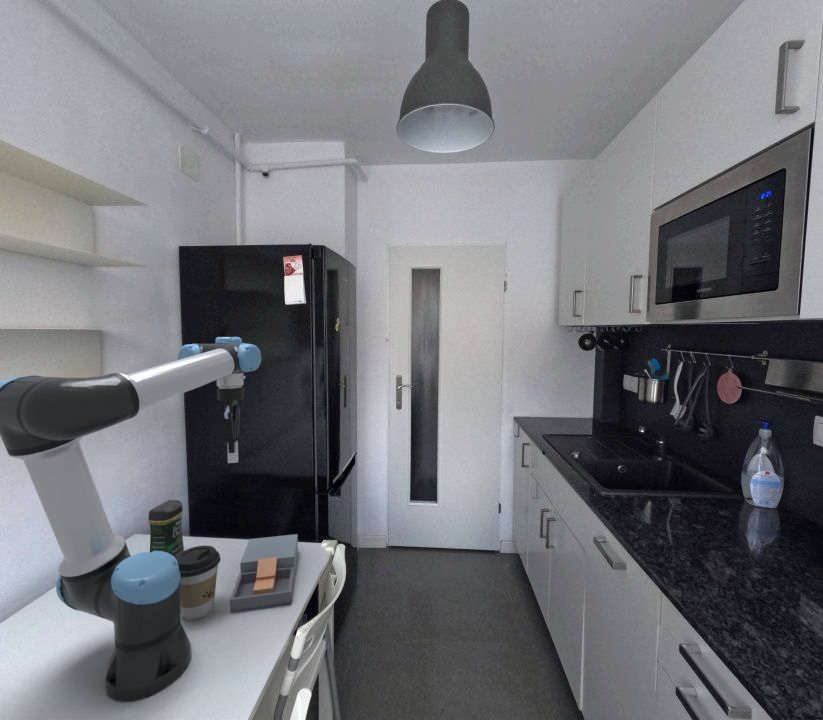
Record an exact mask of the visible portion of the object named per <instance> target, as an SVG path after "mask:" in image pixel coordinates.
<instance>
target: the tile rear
mask: <svg viewBox="0 0 823 720" xmlns="http://www.w3.org/2000/svg"><path fill="white" fill-rule="evenodd" d="M276 572H277V557H274V558H266V559H258V567H257V576H256V578H257V579H263V578H272V577H275V579H276Z"/></svg>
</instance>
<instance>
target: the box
mask: <svg viewBox="0 0 823 720" xmlns="http://www.w3.org/2000/svg"><path fill="white" fill-rule="evenodd" d="M256 576H257V571H255V572H246V573H241V572H240V573H239V575H238V577H237V581H236V582H235V585H234V589H232V593H231V596H230V598H229V613H230V614H235V613H241V612H242V613H243V612H249V611H256V610H263V609H271V608H275V607H276V608H277V607H284V606H289V605H290V606H291V605H292V600H293V598H292V597H293V591H294V583H295V576H294V567H287V568H279V569H277V572H276V579H275V589H274V592H272V593H265V594H258V595H253V589H254V585H255V582H256V579H257V578H256Z"/></svg>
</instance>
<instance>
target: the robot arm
mask: <svg viewBox="0 0 823 720" xmlns="http://www.w3.org/2000/svg"><path fill="white" fill-rule="evenodd" d="M261 362H262V354H261V350H260V348H259V347H258V346H256V345H255V344H251V343H244V342H243V339H242V338H241V337H239V336H217V337H216V338H215V343H192V344H191V343H189V344H184V345H182V346H181V347H180V348H179V350H178V352H177V359H176V360H173V361H170V362H166V363H163V364H160V365H155V366H152V367H149V368H145V369H142V370H138V371H134V372H131V373H128V374H125V373H121V372H112V373H109V374H105V375H99V376H91V377H56V376H55V377H54V376H41V375H36V374H34V375H25V376H16V377H15V376H14V377H11V378H7V379H5V380H3V381H0V438H1V440H2V444H3V445H4V447H5V450H6V452H7V455H8V456H9V457H10V458H14V459H15V458H16V459H19V460H22V461H23V463H24V465H25V468H26V470H27V472H28V475H29V477H30V480H31V482H32V484H33V486H34V489H35V491H36V493H37V496H38V499H39V501H40V503H41V506H42V508H43V511H44V513H45V516H46V517H47V520H48V522H49V525H50V527H51V530H52V532H53V534H54V537H55V539H56V542H57V543H58V547H59V549H60V551H61V553H62V556H63V559H62V560H61V562H60V564H59V565H58V573H59V577H58V578H57V579H56V583H55V589H56V594H57V596H58V599H59V600H60V601H61V602H62V603H63V604H64V605H65V606H67V607H68V608H70V609H72V610H75V611H78V612H82V613H86V614H89V615H92V616H94V617H97V618H100V619H104V620H107V621H110V622H112V623H113V630H114V648H113V652H112V655H111V658H110V660H109V662H108V663H109V664H108V666H107V669H106V672H105V678H104V679H105V680H104V681H105V693H106V695H107V696H108V697H109V698H111V699H112V700H114V701H119V702H131V701H137V700H141V699H144V698H147V697H149V696H152V695H154V694H156V693H158V692H160V691H161V690H163V689H166V688H167V687H168V686H169V685H171V684H172V683H173V682H175V681H176V680H177V679H178V678H179V677H180V676H181V675H182V674H183V673H184V672H185V670H186V669H187V667H188V666H189V664H190V661H191V659H192V658H191V657H192V646H191V641H190V639H189V637H188V634H187V633H186V631H185V628H184V626H183V625H182V622H181V621H182V619H181V618H182V614H181V611H180V572H179V567H178V562H177V560H176V558H175V557H174V556H173V555H171V554H169V553H167V552H163V551H153V552H151V553H150V551H144V552H139V553H135V554H133V555H131V553H130V551H129V549H128V546H127V543H126V541H125V538H124V537H123V536H121V535H118V534H114V533H113V530H112V528H111V525H110V522H109V519H108V516H107V514H106V510H105V509H104V505H103V503H102V500H101V498H100V495H99V491H98V489H97V486H96V484H95V481H94V478H93V475H92V473H91V470H90V468H89V464H88V461H87V459H86V456H85V454H84V450H83V448H82V446H81V444H80V441H81V440H82V439H83V437H85V436H87V435H92V434H93V433H94V434H95V433H96V432H101V431H102V430H105V429H107V428H110V427H113V426H115V425H119V424H120V423H123V422H126V421H128V420H130V419H133V418H135V417H136V416H138V414H139V413H140V411H141V410H142V409H144V408H148V407H150V406H152V405H155V404H158V403H161V402H163V401H166V400H169V399H171V398H174V397H176V396H179V395H182V394H185V393H186V392H190V391H192V390H195V389H197V388H200V387H202V386H205V385H208V384H210V383H213V382H216V387H218V388H217V391H216V392H217V393H216V395H217V400H218V401H220V402H224V404H223V405H224V406H223V407H222V413H221V418H222V425H223V426H222V427H223V434H224V440H223V443H225V444H226V446H227V447H226V448H227V450H226V451H227V464H235V463H239V444H238V441H241V437H240V420H241V418H240V416H241V414H240V413H241V405H240V404H239V402H238V401H240V400H243V399H244V398H245V387H244V385H245V384H244V380H245V379H246V375H244V373H248V372H253V371H256V370H257V369H259V367H260V365H261Z"/></svg>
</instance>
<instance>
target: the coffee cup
mask: <svg viewBox="0 0 823 720" xmlns="http://www.w3.org/2000/svg"><path fill="white" fill-rule="evenodd" d="M176 560H177V562H178V567H179V572H180V614H181V617H182V618H183V619H184V620H186V621H195V620H198V619H201V618H203V617H205V616H207V615H208V614H210V613H211V612H212V610H213V607H214V604H215V596H216V595H215V594H216V588H217V587H216V586H217V578H218V577H217V576H218V570H219V569H218V567H219V564H220V562H221V554H220V553H219V551H218V550H217V549H216V547H214V546H211V545H197V546H193V547H189V548H187V549H184V551H183V552H182V553H180V554H179V555H178V556H177V557H176Z"/></svg>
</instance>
